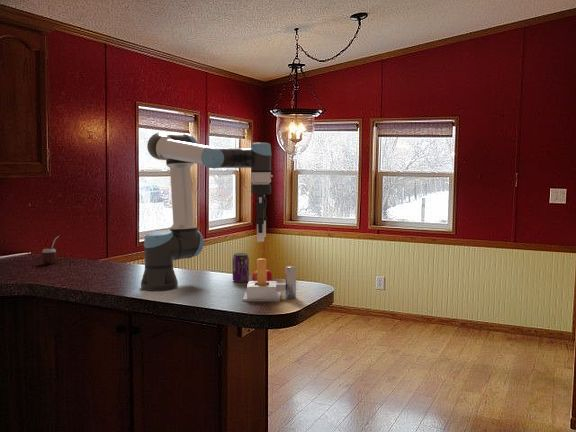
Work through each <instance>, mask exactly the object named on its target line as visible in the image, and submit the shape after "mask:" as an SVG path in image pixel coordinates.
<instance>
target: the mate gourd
mask: <svg viewBox="0 0 576 432" xmlns="http://www.w3.org/2000/svg"><path fill="white" fill-rule="evenodd" d="M59 237H60V235H57V237H55V238H54V239H53V242H52V245H51V248H50V247H49V248H44V249H43V250H42V251H41V259H42V262H43V264H42V265H43V266H53V265H55V264H56V261H57V251H56V249H55V248H54V245H55V242H56V240H57V239H58V238H59Z"/></svg>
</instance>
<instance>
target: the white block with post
mask: <svg viewBox="0 0 576 432" xmlns="http://www.w3.org/2000/svg"><path fill="white" fill-rule="evenodd" d="M282 292H285V299H286V300H295V299H297V266H294V265H289V266H288V265H287V266H285V282H278V281H277V280H271V281H267V285H257V281H253V280H248V282H247V286H246V291H244V294H243V297H242V302H281V296H282V295H281V293H282Z"/></svg>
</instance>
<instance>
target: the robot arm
mask: <svg viewBox="0 0 576 432" xmlns="http://www.w3.org/2000/svg"><path fill="white" fill-rule="evenodd" d="M271 146H272V145H271V144H270V143H269V142H252V143H251V146H250V148H248V147H247V148H245V147H244V148H242V147H241V148H238V147H235V148H234V147H233V148H232V147H215V146H210V145H205V144H200V143H199V144H198V141H197V139H196V138H195V137H194V136H193V135H191V134H189V133H184V132H165V131H164V132H163V131H160V132H156V133H155V134H152V135H151V136H150V138H148V140H147V146H146V149H147V151H148V153H149V155H150V156H151V157H152V158H154V159H155V160H161V161H165V163H166V164H165V165H166V166H167V168H168V169H169V172H170V174H169V175H170V191H171V205H172V206H171V208H172V222H173V223H172V225H171V226H170V228H169V229H163V230H154V231H151V232H148V233H146V234H145V236H144V237H143V238H144V241H143V242H144V243H143V249H144V250H143V251H144V272H143V275H142V277H141V281H140V289H141V290H144V291H156V292H157V291H158V292H159V291H167V290H168V291H169V290H174V289H176V288H178V287H179V286H178V285H179V284H178V283H179V282H178V278H177V275H176V272H175V270H174V269H175V268H174V261H177V260H184V259H191V258H195V257H197V256H198V255H200V253H201V252H202V251H203V249H204V244H205V242H204V236H203V235H202V233H201V232H200V231H199V230H198V226H197V225H196V224H195V223H194V212H193V210H194V209H193V192H192V175H191V174H192V173H191V168H192V167H193V166H194V164H195V165H196V164H197V165H202V166H204V167H205V168H208V169H246V168H247V169H251V170H250V171H251V173H250V174H251V175H250V178H251V179H250V181H251V183H252V184H251V188H250V189H251V194H252V195H257V197H256V199H255V205H256V221H254V224H255V225H256V242H257V243H258V242H259V243H263V242H265V238H266V237H267V221H268V217H267V215H266V214H267V213H266V211H267V210H266V209H267V201H268V200H267V198H266V197H267V196H266V195H271V194H272V184H270V183H272V178H273V177H274V175H273V174H272V155H273V154H272V147H271Z"/></svg>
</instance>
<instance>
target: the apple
mask: <svg viewBox="0 0 576 432" xmlns="http://www.w3.org/2000/svg"><path fill="white" fill-rule="evenodd" d="M266 274H267V281H273V280H272V279H273V275H272V274H273V273H272V271H271V270H269V269H266ZM251 281H257V269H256V270H254V271H253V273H252V275H251Z"/></svg>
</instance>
